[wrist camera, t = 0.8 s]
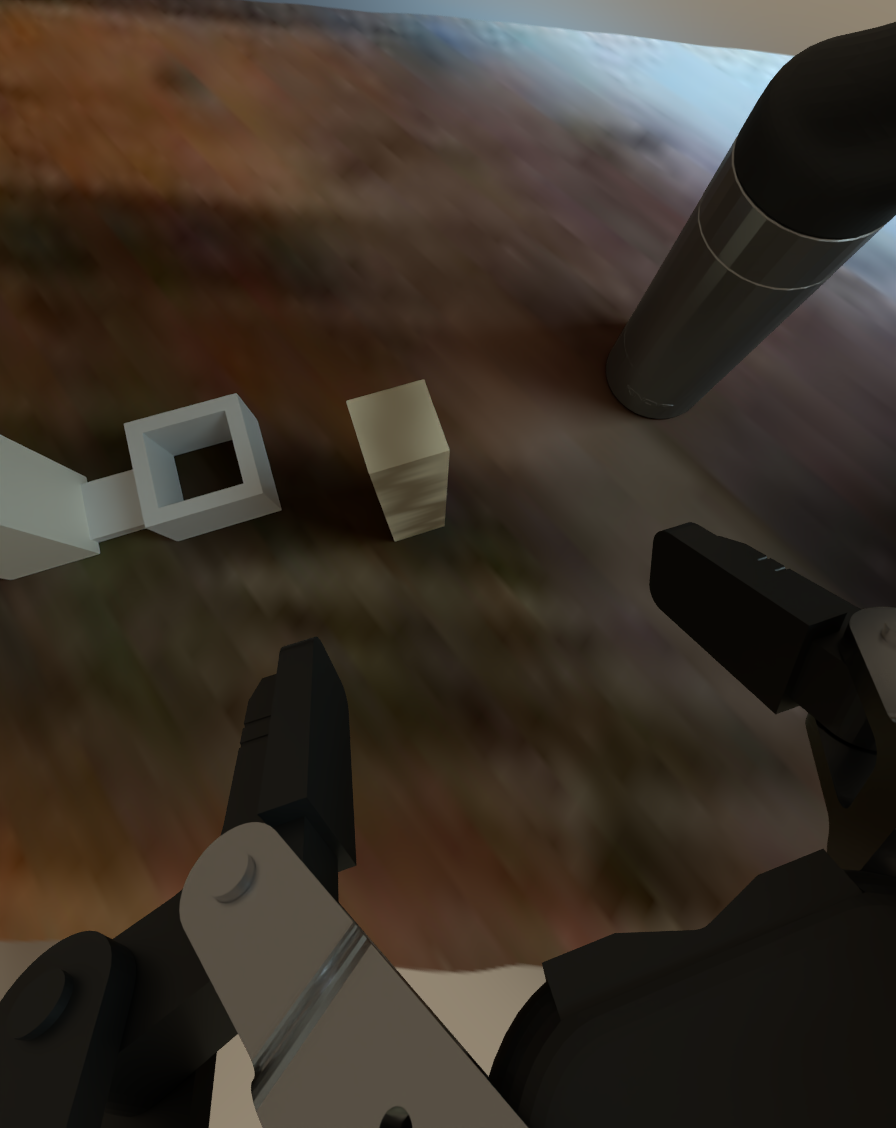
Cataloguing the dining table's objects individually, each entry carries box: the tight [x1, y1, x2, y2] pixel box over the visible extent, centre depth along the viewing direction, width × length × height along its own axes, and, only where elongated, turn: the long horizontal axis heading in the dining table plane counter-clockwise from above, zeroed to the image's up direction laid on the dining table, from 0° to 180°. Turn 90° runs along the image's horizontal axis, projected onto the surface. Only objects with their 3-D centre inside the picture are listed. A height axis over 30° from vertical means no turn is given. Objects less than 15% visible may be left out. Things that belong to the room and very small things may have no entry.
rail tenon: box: [346, 379, 450, 541], centre depth 29 cm, size 4×4×14 cm
